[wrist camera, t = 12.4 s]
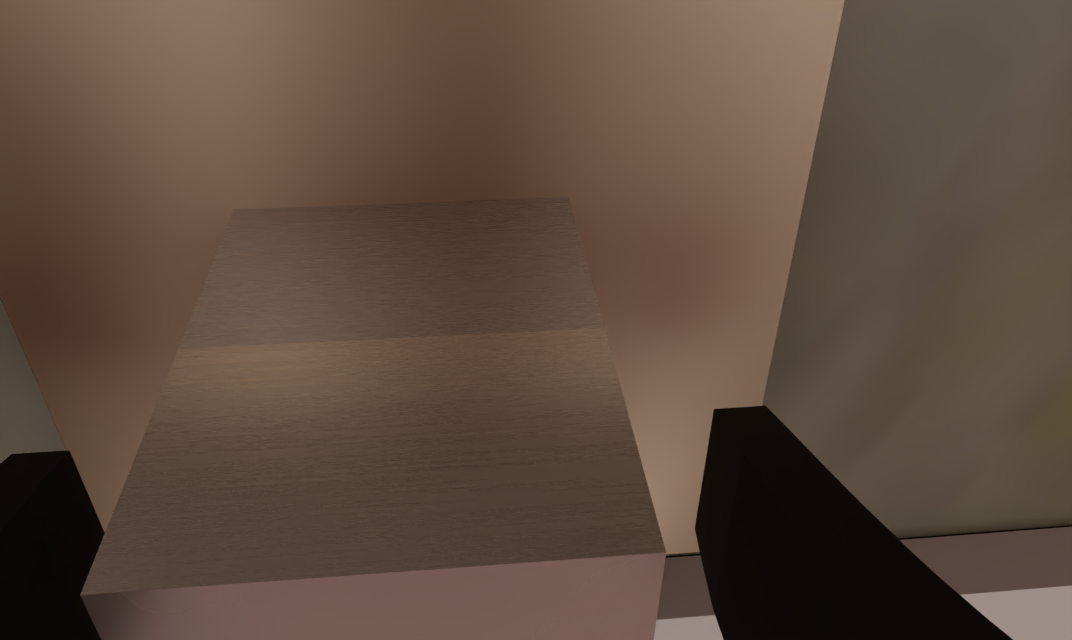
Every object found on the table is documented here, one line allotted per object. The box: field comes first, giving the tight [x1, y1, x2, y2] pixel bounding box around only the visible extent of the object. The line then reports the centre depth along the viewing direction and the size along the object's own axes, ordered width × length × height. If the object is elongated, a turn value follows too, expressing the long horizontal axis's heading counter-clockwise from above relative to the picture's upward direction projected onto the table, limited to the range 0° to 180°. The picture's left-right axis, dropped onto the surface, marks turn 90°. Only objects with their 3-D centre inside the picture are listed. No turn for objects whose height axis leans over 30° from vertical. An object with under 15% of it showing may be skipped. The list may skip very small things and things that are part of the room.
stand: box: [0, 0, 845, 554], centre depth 13 cm, size 11×11×2 cm
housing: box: [80, 197, 666, 640], centre depth 10 cm, size 4×4×6 cm
